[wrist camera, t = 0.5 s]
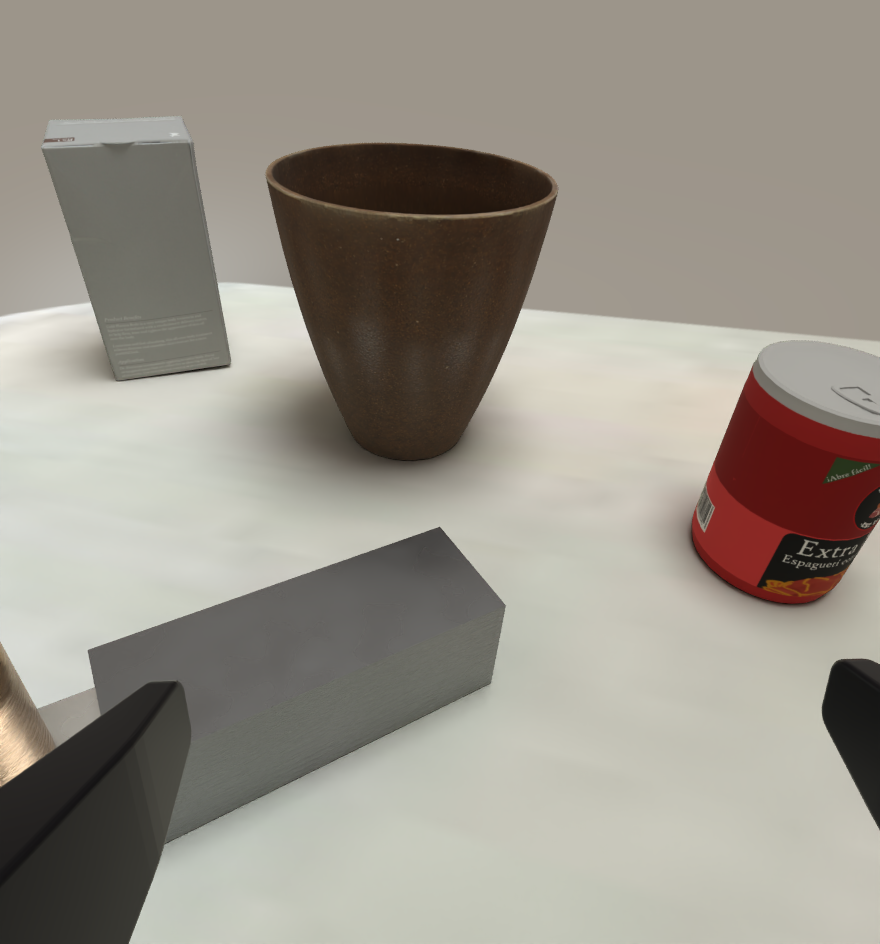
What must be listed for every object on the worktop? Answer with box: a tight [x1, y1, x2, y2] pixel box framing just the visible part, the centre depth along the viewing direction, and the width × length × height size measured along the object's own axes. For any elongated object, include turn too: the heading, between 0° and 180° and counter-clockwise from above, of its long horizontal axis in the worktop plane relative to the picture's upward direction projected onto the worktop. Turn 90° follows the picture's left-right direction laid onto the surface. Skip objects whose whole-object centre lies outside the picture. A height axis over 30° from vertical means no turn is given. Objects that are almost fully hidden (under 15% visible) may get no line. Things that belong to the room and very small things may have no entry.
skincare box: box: [41, 116, 231, 381], centre depth 44 cm, size 8×7×16 cm
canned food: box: [692, 340, 880, 604], centre depth 32 cm, size 8×8×11 cm
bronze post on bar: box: [0, 642, 101, 787], centre depth 20 cm, size 22×3×13 cm, turn 121°
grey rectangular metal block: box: [88, 527, 506, 843], centre depth 25 cm, size 14×5×5 cm, turn 121°
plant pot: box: [266, 143, 558, 460], centre depth 38 cm, size 15×15×16 cm
